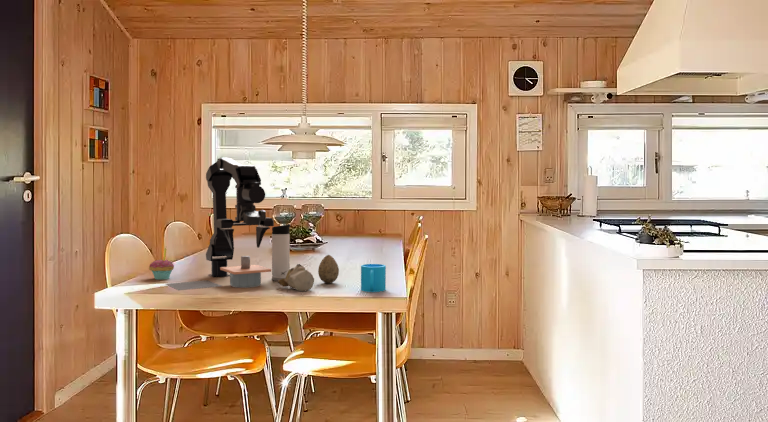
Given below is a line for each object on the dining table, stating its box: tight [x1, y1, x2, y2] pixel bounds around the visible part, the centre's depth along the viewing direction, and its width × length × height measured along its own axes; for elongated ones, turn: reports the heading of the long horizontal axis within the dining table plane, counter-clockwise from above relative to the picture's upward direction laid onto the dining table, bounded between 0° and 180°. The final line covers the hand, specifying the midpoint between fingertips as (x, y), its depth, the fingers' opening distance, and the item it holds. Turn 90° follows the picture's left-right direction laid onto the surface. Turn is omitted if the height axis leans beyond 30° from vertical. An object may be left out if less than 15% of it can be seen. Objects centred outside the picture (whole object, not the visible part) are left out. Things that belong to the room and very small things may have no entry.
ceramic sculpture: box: [276, 263, 315, 292], centre depth 235 cm, size 11×9×15 cm
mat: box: [165, 279, 222, 291], centre depth 239 cm, size 15×15×1 cm
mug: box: [360, 263, 387, 293], centre depth 232 cm, size 12×8×8 cm
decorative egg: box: [317, 254, 340, 284], centre depth 247 cm, size 7×7×10 cm
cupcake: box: [148, 247, 175, 280], centre depth 253 cm, size 9×8×12 cm
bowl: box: [229, 272, 262, 289], centre depth 240 cm, size 10×10×5 cm
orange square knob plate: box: [220, 255, 272, 275], centre depth 239 cm, size 13×13×5 cm
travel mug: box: [271, 224, 291, 282], centre depth 253 cm, size 6×7×20 cm
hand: (245, 248), depth 239 cm, fingers open, 9 cm apart
